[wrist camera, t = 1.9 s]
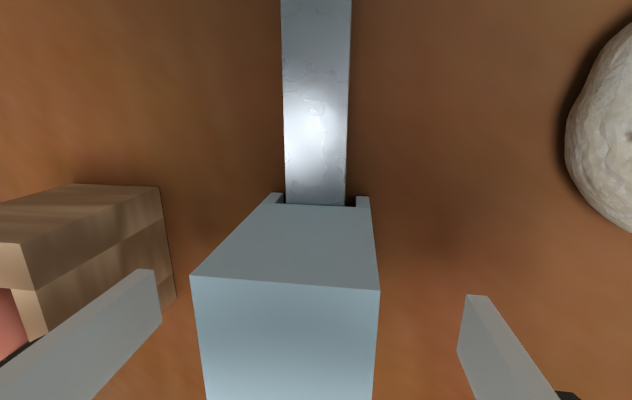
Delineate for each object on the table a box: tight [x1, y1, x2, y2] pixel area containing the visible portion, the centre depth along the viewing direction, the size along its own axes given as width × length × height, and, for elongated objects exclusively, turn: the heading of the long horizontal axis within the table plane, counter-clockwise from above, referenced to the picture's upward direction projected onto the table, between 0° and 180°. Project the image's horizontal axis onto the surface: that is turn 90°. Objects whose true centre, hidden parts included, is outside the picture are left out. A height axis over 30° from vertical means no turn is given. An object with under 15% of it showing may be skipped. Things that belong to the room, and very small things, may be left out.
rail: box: [280, 0, 353, 207], centre depth 14 cm, size 24×4×4 cm, turn 0°
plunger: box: [0, 288, 29, 361], centre depth 13 cm, size 3×3×8 cm
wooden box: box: [0, 183, 177, 362], centre depth 16 cm, size 8×6×8 cm
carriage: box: [189, 192, 380, 400], centre depth 14 cm, size 6×6×9 cm
